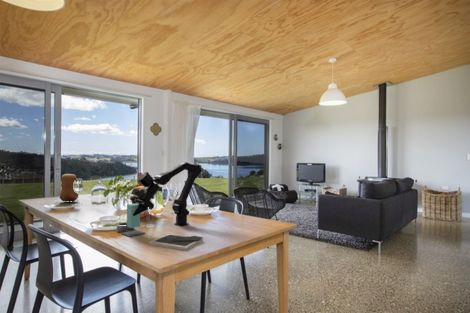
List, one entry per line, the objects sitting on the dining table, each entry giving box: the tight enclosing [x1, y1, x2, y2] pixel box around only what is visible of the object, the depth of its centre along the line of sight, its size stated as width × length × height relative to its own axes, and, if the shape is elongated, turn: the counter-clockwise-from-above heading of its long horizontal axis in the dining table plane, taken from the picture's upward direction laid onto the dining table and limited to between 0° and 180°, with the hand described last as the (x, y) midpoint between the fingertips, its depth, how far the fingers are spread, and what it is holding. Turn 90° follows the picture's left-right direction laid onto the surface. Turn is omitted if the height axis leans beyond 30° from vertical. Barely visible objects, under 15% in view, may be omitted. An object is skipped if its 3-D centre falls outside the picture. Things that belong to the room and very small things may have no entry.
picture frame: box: [148, 233, 204, 252], centre depth 138 cm, size 16×3×21 cm
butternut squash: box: [59, 173, 79, 202], centre depth 245 cm, size 14×13×25 cm
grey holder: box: [116, 221, 135, 233], centre depth 161 cm, size 9×9×3 cm
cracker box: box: [132, 185, 149, 219], centre depth 195 cm, size 14×6×21 cm, turn 168°
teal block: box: [126, 203, 141, 229], centre depth 152 cm, size 5×5×12 cm
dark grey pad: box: [120, 229, 146, 238], centre depth 152 cm, size 9×9×1 cm
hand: (131, 214), depth 151 cm, fingers closed on teal block, 5 cm apart
